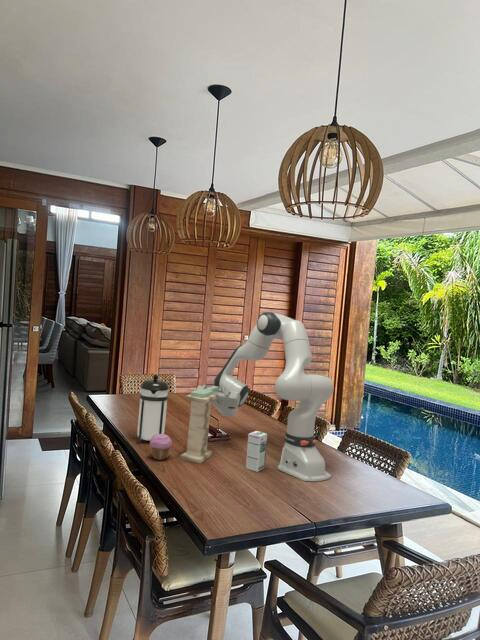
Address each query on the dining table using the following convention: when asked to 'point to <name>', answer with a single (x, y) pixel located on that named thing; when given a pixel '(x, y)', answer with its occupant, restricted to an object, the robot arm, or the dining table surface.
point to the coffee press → (152, 408)
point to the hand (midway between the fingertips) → (213, 388)
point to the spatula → (204, 392)
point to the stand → (198, 429)
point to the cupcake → (160, 446)
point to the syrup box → (256, 451)
